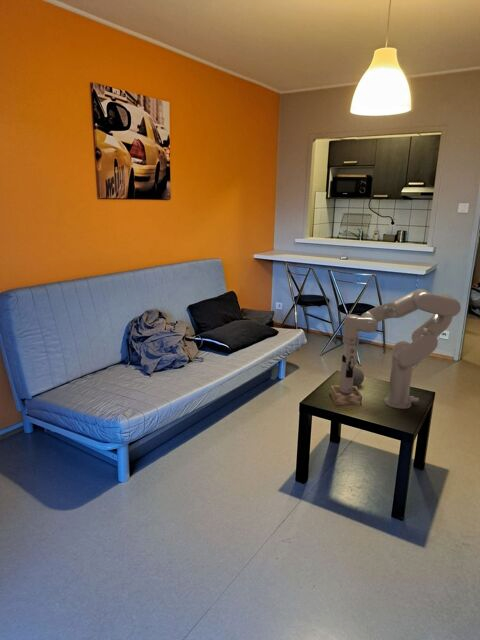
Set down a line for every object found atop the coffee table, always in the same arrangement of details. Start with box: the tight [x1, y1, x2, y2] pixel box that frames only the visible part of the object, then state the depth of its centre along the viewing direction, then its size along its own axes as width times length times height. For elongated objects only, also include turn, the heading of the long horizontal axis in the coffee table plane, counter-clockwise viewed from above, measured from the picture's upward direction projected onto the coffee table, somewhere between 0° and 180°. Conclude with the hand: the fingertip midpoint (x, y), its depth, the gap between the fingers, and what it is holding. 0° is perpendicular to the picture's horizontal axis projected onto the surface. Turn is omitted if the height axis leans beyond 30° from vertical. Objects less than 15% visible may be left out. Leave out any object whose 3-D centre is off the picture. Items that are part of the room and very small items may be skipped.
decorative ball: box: [353, 367, 365, 387], centre depth 241 cm, size 10×10×10 cm
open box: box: [329, 385, 363, 406], centre depth 224 cm, size 13×13×4 cm
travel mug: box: [339, 354, 355, 395], centre depth 221 cm, size 6×7×20 cm
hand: (347, 374), depth 221 cm, fingers closed on travel mug, 6 cm apart
